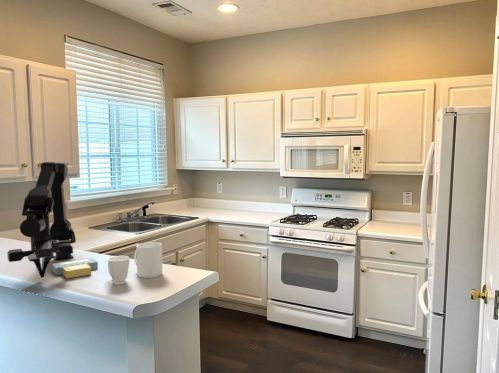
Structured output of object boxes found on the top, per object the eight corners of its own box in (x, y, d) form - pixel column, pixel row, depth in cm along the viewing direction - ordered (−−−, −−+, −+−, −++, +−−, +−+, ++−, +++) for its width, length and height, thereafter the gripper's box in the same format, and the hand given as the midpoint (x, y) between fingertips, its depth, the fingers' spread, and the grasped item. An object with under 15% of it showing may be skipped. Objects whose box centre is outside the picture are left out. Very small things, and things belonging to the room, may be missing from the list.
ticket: (52, 270, 142) (52, 263, 141) (92, 264, 150) (92, 257, 150) (56, 275, 136) (56, 268, 135) (97, 268, 144) (97, 261, 144)
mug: (144, 268, 144) (143, 239, 143) (167, 273, 137) (167, 243, 137) (125, 274, 137) (124, 244, 136) (148, 280, 130) (148, 248, 129)
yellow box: (63, 274, 136) (62, 267, 136) (87, 270, 141) (86, 263, 141) (66, 278, 131) (66, 271, 131) (91, 274, 136) (91, 267, 136)
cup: (115, 287, 123) (114, 262, 123) (99, 280, 130) (98, 257, 129) (134, 281, 128) (134, 257, 128) (118, 275, 135) (117, 253, 134)
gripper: (9, 238, 116) (12, 289, 118) (75, 231, 128) (77, 278, 129) (6, 233, 125) (8, 280, 127) (68, 226, 136) (70, 270, 138)
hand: (42, 277), depth 130 cm, fingers closed
